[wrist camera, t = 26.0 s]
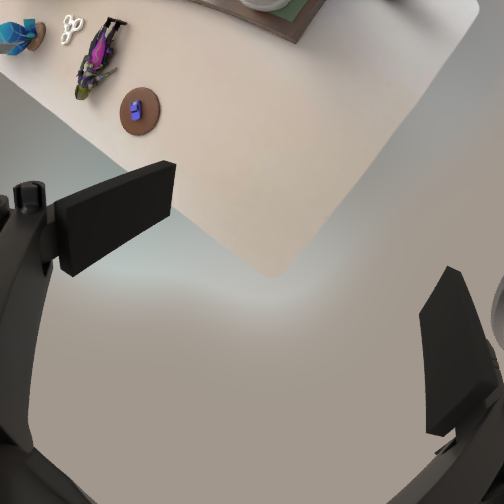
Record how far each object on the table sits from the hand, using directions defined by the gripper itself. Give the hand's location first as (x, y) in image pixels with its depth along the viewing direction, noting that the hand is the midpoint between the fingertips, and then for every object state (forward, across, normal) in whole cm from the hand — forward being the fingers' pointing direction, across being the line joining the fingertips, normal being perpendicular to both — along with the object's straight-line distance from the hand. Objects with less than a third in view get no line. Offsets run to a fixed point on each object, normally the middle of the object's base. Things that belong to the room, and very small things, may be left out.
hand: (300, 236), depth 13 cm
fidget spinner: (+29, -56, +14) cm, 64 cm away
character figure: (+29, -44, +6) cm, 53 cm away
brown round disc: (+28, -32, -2) cm, 43 cm away
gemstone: (+28, -70, +13) cm, 76 cm away
